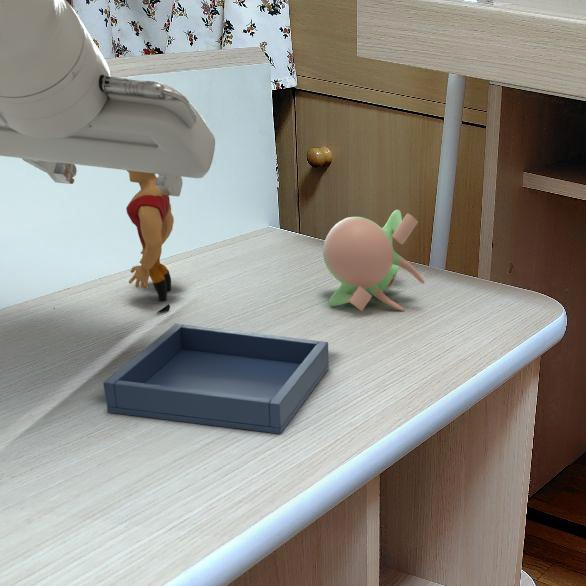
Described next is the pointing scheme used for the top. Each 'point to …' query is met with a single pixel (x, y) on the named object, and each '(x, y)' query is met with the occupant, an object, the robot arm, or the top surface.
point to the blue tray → (219, 378)
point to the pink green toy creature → (366, 258)
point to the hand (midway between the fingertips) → (120, 182)
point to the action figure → (151, 232)
